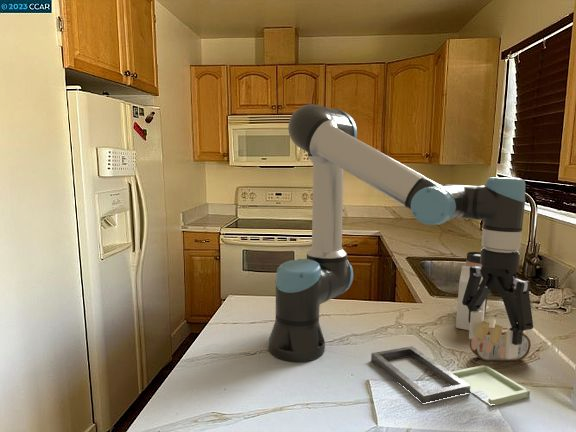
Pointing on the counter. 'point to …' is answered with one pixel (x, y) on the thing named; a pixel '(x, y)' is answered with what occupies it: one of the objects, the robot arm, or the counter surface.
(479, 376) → the tray pad
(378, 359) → the gray rectangular frame
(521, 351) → the tin
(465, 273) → the milk carton
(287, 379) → the counter surface
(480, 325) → the ammunition
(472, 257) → the travel mug
